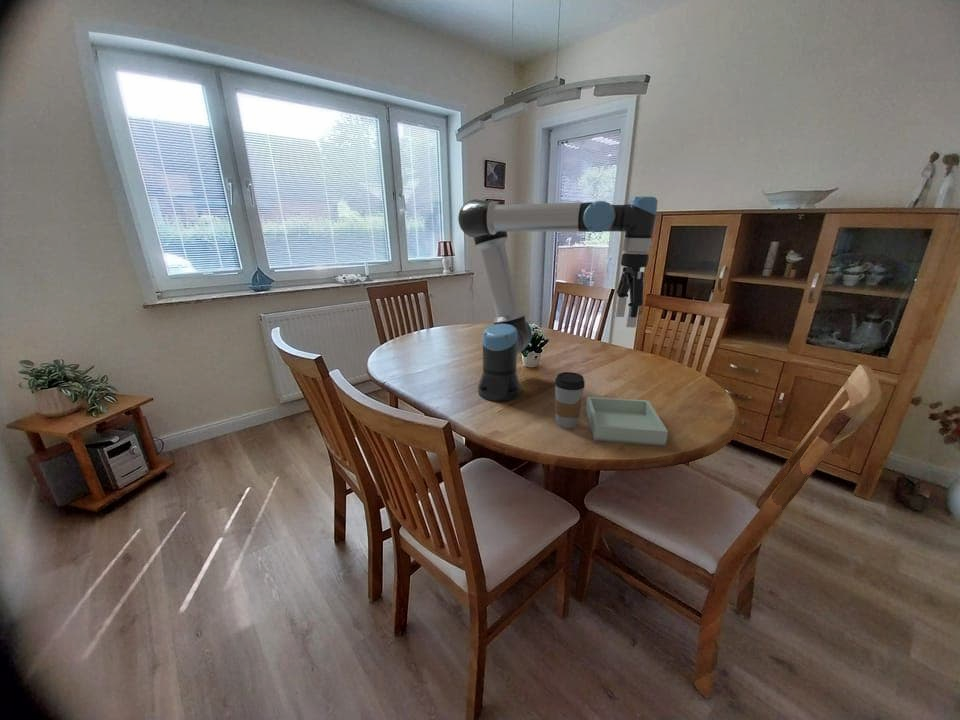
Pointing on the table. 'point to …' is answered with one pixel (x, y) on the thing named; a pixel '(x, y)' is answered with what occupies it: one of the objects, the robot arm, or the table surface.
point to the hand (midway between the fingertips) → (624, 321)
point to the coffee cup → (568, 398)
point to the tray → (625, 421)
